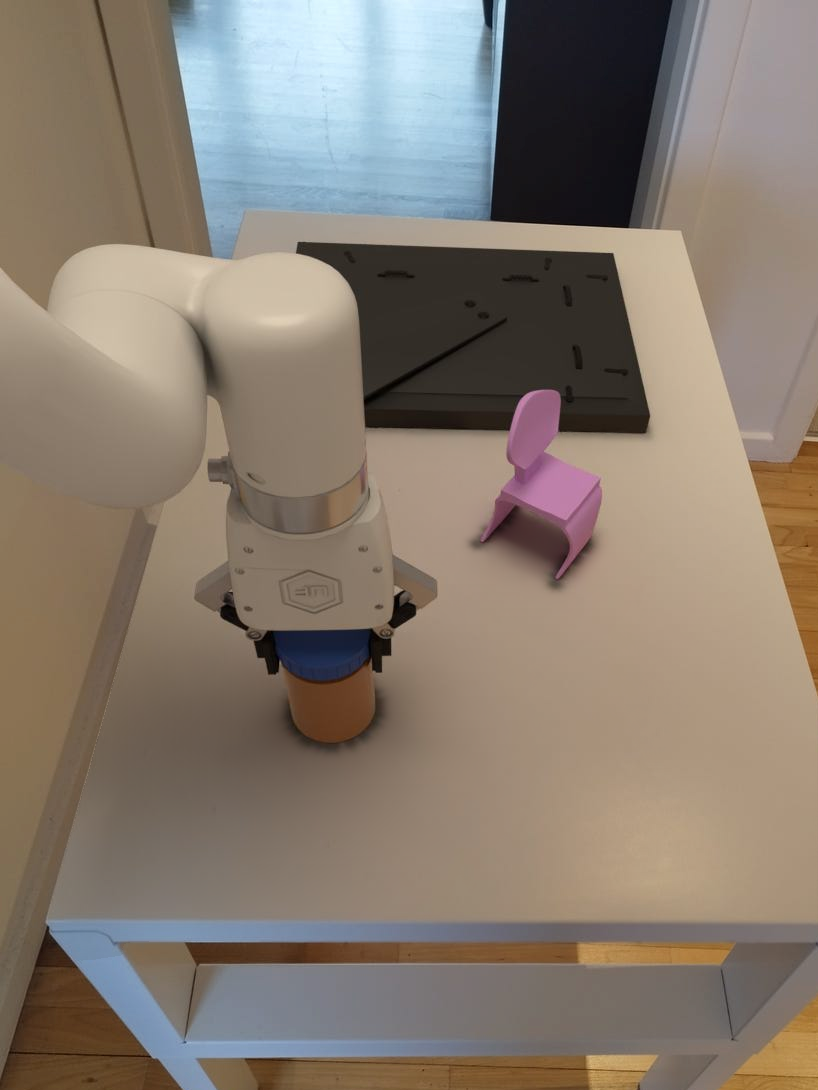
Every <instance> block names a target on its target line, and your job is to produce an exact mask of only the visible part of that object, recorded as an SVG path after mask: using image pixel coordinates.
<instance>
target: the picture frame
mask: <svg viewBox="0 0 818 1090" xmlns="http://www.w3.org/2000/svg"><path fill="white" fill-rule="evenodd" d="M295 254H301V255H305V256H309V257H312V258H315V259H318V260H320V261H322V262H324V263H326V264H328V265H330V266H331V267H333V268H334V269H335V270H337V271H338V272H339V273H340V274H341V275H342V276H343V277H344V279H345V280H346V281H347V282H348V284H349V285H350V287H351V289H352V291H353V293H354V296H355V299H356V302H357V307H358V315H359V327H360V345H361V363H362V382H363V400H364V418H365V427H368V428H369V427H370V428H371V427H372V428H373V427H374V428H414V429H415V428H416V429H458V430H459V429H462V430H468V429H469V430H499V431H500V430H501V431H502V430H503V431H504V430H506V431H510V428H511V424H512V421H513V417H514V414H515V411H516V408H517V406H518V404H519V402H520V400H521V399H522V398H523V397H524V396H525V395H526V394H527V393H530V392H533V391H538V390H555V391H557V392H558V393H559V394H560V398H561V405H560V415H559V425H558V432H589V433H590V432H591V433H593V432H595V433H634V434H635V433H636V434H638V433H639V434H645V433H647V430H648V427H649V423H650V419H651V413H650V408H649V403H648V400H647V396H646V391H645V386H644V382H643V378H642V377H643V376H642V373H641V369H640V364H639V360H638V359H639V358H638V356H637V351H636V346H635V342H634V336H633V333H632V329H631V324H630V319H629V316H628V312H627V311H628V310H627V307H626V302H625V297H624V293H623V290H622V289H623V288H622V284H621V280H620V276H619V271H618V267H617V263H616V262H617V261H616V258H615V254H614V252H601V251H599V252H597V251H568V250H541V249H511V248H488V247H487V248H485V247H479V248H478V247H460V246H459V247H457V246H456V247H455V246H433V245H432V246H429V245H428V246H427V245H404V244H403V245H401V244H377V243H376V244H375V243H373V244H372V243H370V244H369V243H347V242H346V243H345V242H315V241H297V245H296V249H295Z"/></svg>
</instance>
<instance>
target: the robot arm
mask: <svg viewBox="0 0 818 1090" xmlns="http://www.w3.org/2000/svg"><path fill="white" fill-rule="evenodd" d="M48 297H49V298H48V302H47V307H46V309H45V308H43V307H42V306H41V305H40V304H38V303H37V302H36V301H35V300H33V298H31V296H29V294H28V293H26V292H25V291H24V290H23V289H22V288H21V287H20V286H18V285H17V283H15V282H14V281H13V279H12V278H10V275H8V274H7V273H6V272H5V271H4V270H3V268H1V267H0V464H2V465H4V466H5V467H7V468H9V469H10V470H13V471H14V472H16V473H18V474H20V475H22V476H23V477H25V478H27V479H29V480H31V481H33V482H34V483H37V484H38V485H41V486H43V487H46V488H48V489H50V490H52V491H54V492H56V493H58V494H61V495H64V496H66V497H67V498H68V497H69V498H71V499H74V500H77V501H80V502H84V503H87V504H90V505H93V506H98V507H102V508H109V509H113V510H115V509H116V510H121V509H122V510H137V509H145V508H150V507H153V506H157V505H159V504H162V503H164V502H165V503H166V502H167V501H169V500H171V499H172V498H174V497H175V496H177V495H178V494H180V493H181V492H182V491H183V490H184V489H185V488H186V487H187V486H188V485H189V484H190V483H191V482H192V481H193V479H194V477H195V475H196V474H197V472H198V470H199V468H200V467H201V464H202V462H203V459H204V458H203V457H204V454H205V450H206V444H207V443H206V442H207V426H208V425H207V424H208V396H209V397H211V398H213V399H214V400H215V401H216V402H217V404H218V406H219V409H220V414H221V418H222V423H223V428H224V433H225V437H226V441H227V446H228V452H227V455H222V456H221V458H208V459H207V478H208V480H209V482H210V483H222V484H223V485H228V486H229V487H230V491H229V495H228V498H227V501H226V509H225V537H226V538H225V541H226V551H227V552H226V553H227V560H226V561H225V562H224V563H222V564H221V565H219V566H218V567H216V568H215V569H213V570H212V571H210V572H209V573H207V574H206V575H205V576H203V577H201V578H200V579H199V580H197V582H196V584H195V591H194V596H193V599H194V600H195V602H197V603H199V604H200V605H202V606H204V607H205V608H207V609H209V610H211V611H212V612H214V613H215V612H217V613H218V614H219V616H220V618H221V619H222V620H224V621H226V622H228V623H230V624H231V625H234V626H235V627H237V628H239V629H241V630H243V631H245V637H246V639H248V640H249V641H253V645H254V648H255V654H256V658H257V659H264V662H265V667H266V670H267V674H268V676H272V675H273V676H276V675H277V674H279V671H280V664H281V661H280V659H279V657H278V655H276V650H275V646H274V645H275V641H274V630H348V629H368V628H370V644H371V659H372V671H373V672H374V673H375V674H377V673H380V674H381V673H383V657H392V638H393V637H394V636H395V634H396V633H395V632H396V629H397V628H399V627H401V626H402V625H404V624H405V623H407V622H409V621H410V620H412V619H413V618H414V617H416V616H417V611H418V610H420V609H421V610H422V609H424V608H425V607H426V606H428V605H429V604H431V603H432V602H433V601H434V600H436V599H437V598H438V594H439V593H438V581H437V579H436V578H434V577H433V576H432V575H429V574H427V573H426V572H424V571H423V570H421V569H419V568H417V567H415V566H414V565H411V564H410V563H409V562H406V561H405V560H403V559H401V558H399V557H398V556H396V555H394V553H393V544H392V539H391V538H392V537H391V531H390V529H391V528H390V525H389V519H388V513H387V510H386V506H385V503H384V498H383V496H382V492H381V489H380V487H379V484H378V482H377V480H376V477H374V475H373V474H372V473H371V472H369V469H368V452H367V439H366V426H365V418H364V400H363V382H362V363H361V345H360V327H359V315H358V307H357V302H356V299H355V296H354V293H353V291H352V289H351V287H350V285H349V284H348V282H347V281H346V280H345V279H344V277H343V276H342V275H341V274H340V273H339V272H338V271H337V270H335V269H334V268H333V267H331V266H330V265H328V264H326V263H324V262H322V261H320V260H318V259H315V258H312V257H309V256H305V255H301V254H296V252H295V253H294V252H278V251H276V252H265V253H259V254H254V255H250V256H246V257H243V258H240V259H228V258H222V257H212V256H206V255H200V254H193V253H187V252H182V251H181V252H180V251H175V250H170V249H164V248H159V247H152V246H145V245H138V244H128V243H127V244H126V243H125V244H124V243H110V244H100V245H95V246H91V247H87V248H85V249H83V250H80V251H79V252H76V253H75V254H73V255H72V256H71V257H70V258H69V259H67V261H65V262H64V264H63V265H62V266H61V267H60V269H59V270H58V272H57V273H56V275H55V278H54V280H53V282H52V285H51V288H50V292H49V296H48ZM395 587H397V588H399V589H401V591H399V592H397V593H396V594H395Z"/></svg>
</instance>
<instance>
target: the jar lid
mask: <svg viewBox="0 0 818 1090" xmlns="http://www.w3.org/2000/svg"><path fill="white" fill-rule="evenodd" d="M274 641H275V645H274V646H275V650H276V655H278V657H279V659H280V660H281V661H280V664H283V665H284V666H285V667H286V668H287V669H288V670H289V672H292V673H294V674H296V675H298V676H300V678H301V677H303V678H306V679H310V680H312V681H314V680H318V681H324V680H325V681H327V680H333V679H337V678H338V679H340V677H343V676H346V675H348V674H351V673H352V672H353V671H355V670H356V669H357V668H358V667H360V666H362V664H363V663H364V661H365V660H366V659H367V658H368V657H369V653H370V651H371V644H370V628H368V629H348V630H274Z"/></svg>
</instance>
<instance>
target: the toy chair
mask: <svg viewBox="0 0 818 1090" xmlns="http://www.w3.org/2000/svg"><path fill="white" fill-rule="evenodd" d="M560 405H561V398H560V394H559V393H558V392H557V391H555V390H538V391H533V392H530V393H527V394H526V395H525V396H524V397H523V398H522V399H521V400H520V402H519V404H518V406H517V408H516V411H515V414H514V417H513V421H512V424H511V428H510V430H509V434H508V438H507V443H506V452H505V453H506V459H507V462H508V463H509V464H510V465H513V466H514V467H513V468H514V475H513V476H512V477H511V478H510V479H509V480H508V481H507V482H506V483H505V485H503V487H502V488H501V489H500V494H499V495H498V496H497V497H496V499H495V500H494V510H493V514H492V517H491V519H490V521H489V523H488V525H487V527H486V529H485V531H484V533H483V534H482V535H481V537H480V542H482V543H484V542H485V541H486V540H487V538H489V537H490V535H491V534H493V532H494V531H495V530H496V529H497V528H498V526H499V525H500V524H501V523H502V522H503V521H504V520H505V518H506V517H507V516H508V515H509V514H510V513H511V512H512V511H513V509H514V508H515V507H516V506H518V507H520V508H523V509H525V510H528V511H530V512H532V513H534V514H536V515H538V516H539V517H541V518H544V519H545V520H547V521H549V522H550V523H553V524H554V525H556V526H557V527H559V528H560V529H561V530H562V531H563V533H564V534H565V537H566V538H567V540H568V542H569V552H568V554H567V557H566V558H565V561H564V562H563V564H562V566H560V569H559V571H558V572H557V573H556V575H555V577H554V579H556V580H559V579H560V578H562V575H563V574H564V573H565V571H566V570H567V569H568V568H569V566H570V565H571V564H572V562H573V561H574V560H575V559H576V558H577V556H578V555H579V554H580V552H581V551H582V550H583V548H584V547H585V546H586V544H587V543H588V542H589V541H590V539H591V537H592V535H593V532H594V531H595V530H594V529H595V526H596V524H597V520H598V517H599V513H600V510H601V505H602V498H603V490H602V487H601V486H600V483H601V479H602V478H601V477H600V476H598V475H596V474H593V473H591V472H589V471H587V470H585V469H582V468H580V467H576V466H575V465H572V464H570V463H567V462H565V461H563V460H561V459H560V458H558V457H555V456H554V455H552V454H550V453H548V452H545V451H546V450H547V448H548V447H549V446H550V445H551V443H552V442H553V440H554V439H555V437H556V436H557V435H558V434H559V431H558V425H559V415H560Z"/></svg>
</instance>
